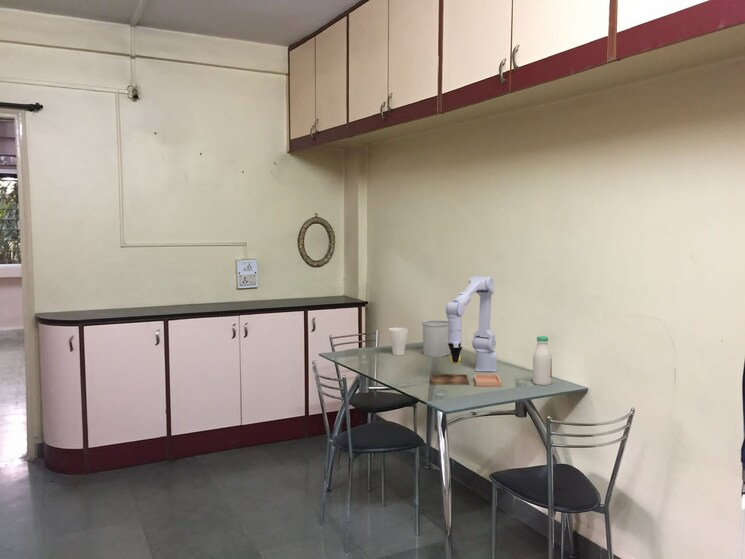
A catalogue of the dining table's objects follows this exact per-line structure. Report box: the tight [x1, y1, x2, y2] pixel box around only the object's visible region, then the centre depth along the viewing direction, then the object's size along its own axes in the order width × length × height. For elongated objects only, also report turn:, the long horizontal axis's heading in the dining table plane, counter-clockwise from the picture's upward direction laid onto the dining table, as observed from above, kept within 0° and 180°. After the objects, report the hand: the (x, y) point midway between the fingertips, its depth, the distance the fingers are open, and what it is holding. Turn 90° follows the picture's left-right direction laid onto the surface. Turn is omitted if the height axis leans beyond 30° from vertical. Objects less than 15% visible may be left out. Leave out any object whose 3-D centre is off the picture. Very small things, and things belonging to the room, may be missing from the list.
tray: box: [430, 373, 470, 386], centre depth 269 cm, size 16×12×2 cm
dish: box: [473, 374, 503, 388], centre depth 264 cm, size 10×12×2 cm
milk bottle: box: [532, 335, 553, 386], centre depth 262 cm, size 8×8×20 cm
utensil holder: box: [421, 318, 451, 358], centre depth 324 cm, size 15×15×18 cm
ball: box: [449, 353, 462, 365], centre depth 267 cm, size 5×5×5 cm
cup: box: [387, 327, 409, 356], centre depth 326 cm, size 10×10×14 cm
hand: (454, 361), depth 267 cm, fingers closed on ball, 5 cm apart
